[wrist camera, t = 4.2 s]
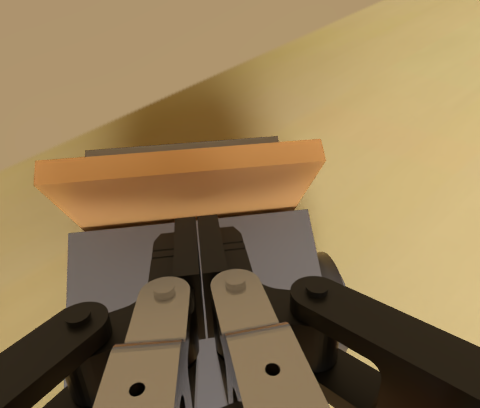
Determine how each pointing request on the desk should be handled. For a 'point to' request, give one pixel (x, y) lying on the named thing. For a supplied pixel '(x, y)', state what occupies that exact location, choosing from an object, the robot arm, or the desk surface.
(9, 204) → the desk surface
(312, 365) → the robot arm
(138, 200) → the side door
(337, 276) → the camera housing
